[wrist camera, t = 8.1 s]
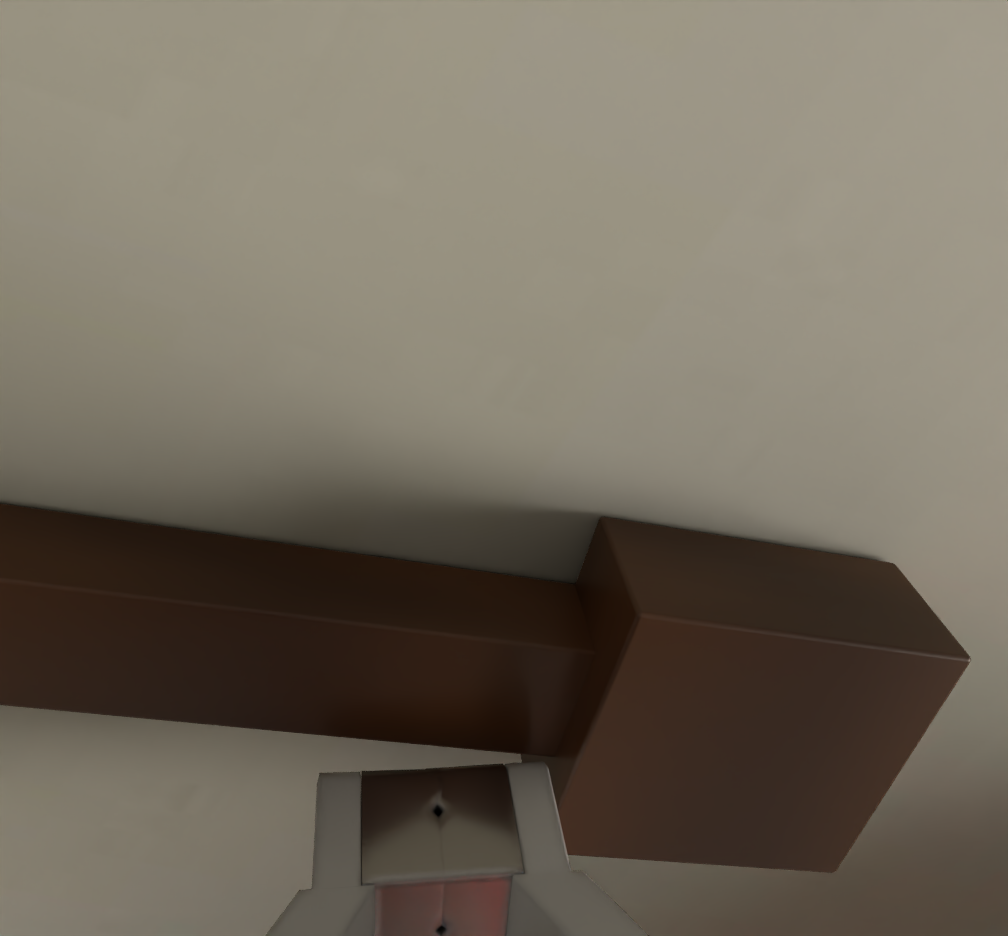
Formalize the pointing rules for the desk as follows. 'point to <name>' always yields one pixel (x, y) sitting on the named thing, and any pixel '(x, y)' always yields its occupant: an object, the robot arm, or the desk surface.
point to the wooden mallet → (514, 668)
